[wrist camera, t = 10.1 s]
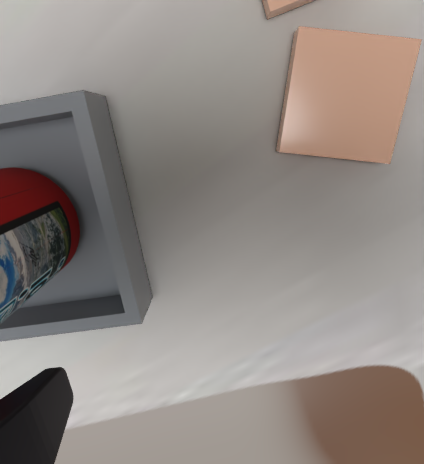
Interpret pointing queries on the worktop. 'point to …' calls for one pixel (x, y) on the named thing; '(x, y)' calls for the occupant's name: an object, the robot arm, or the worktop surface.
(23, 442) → the robot arm
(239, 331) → the worktop surface
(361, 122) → the tile
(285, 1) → the tile
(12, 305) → the beverage can
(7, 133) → the tray
